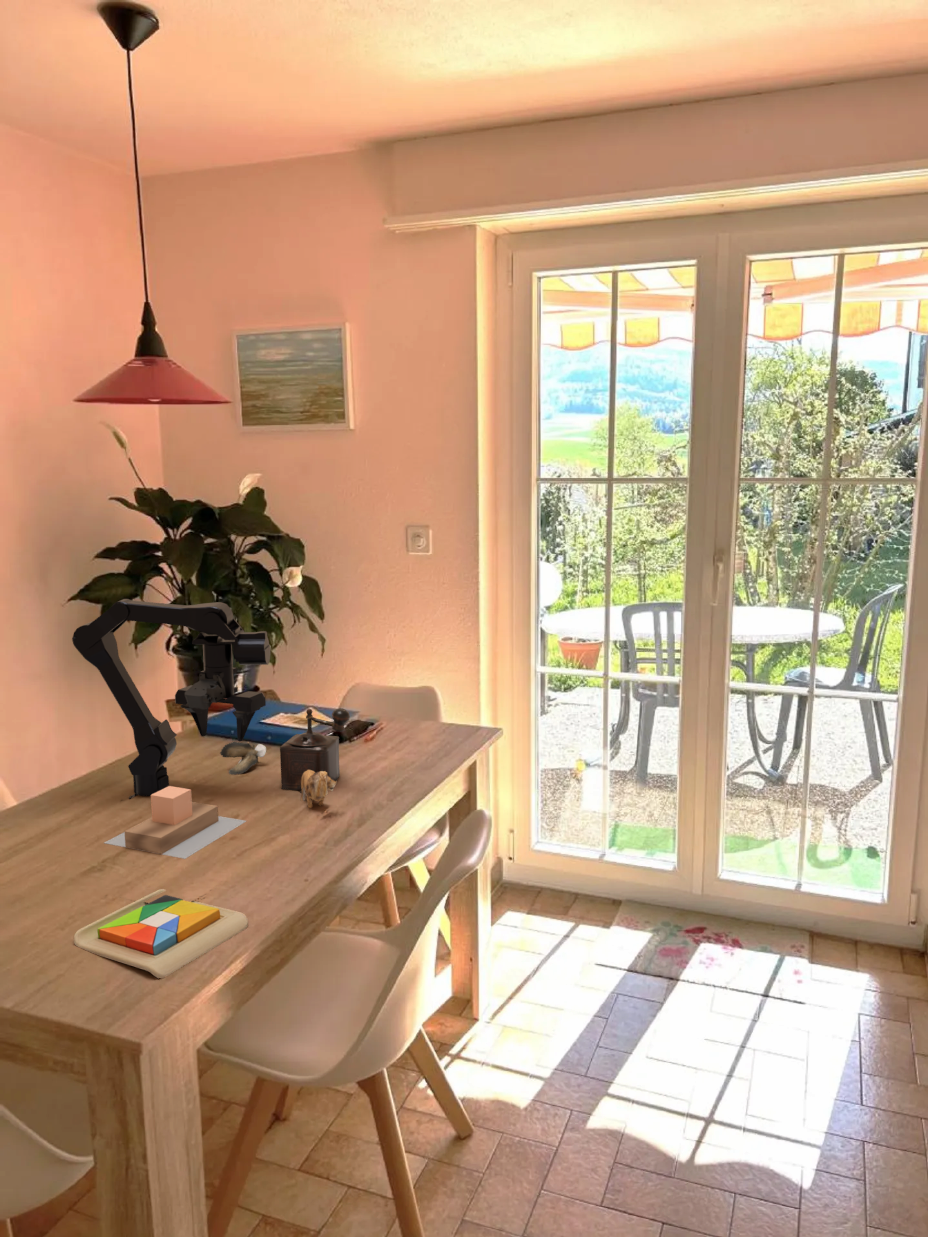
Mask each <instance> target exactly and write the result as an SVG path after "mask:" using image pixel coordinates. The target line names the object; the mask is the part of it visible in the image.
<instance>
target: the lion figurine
mask: <svg viewBox="0 0 928 1237" xmlns="http://www.w3.org/2000/svg"><path fill="white" fill-rule="evenodd" d="M336 784H337V781H334V780H332V779H331V778H330V777H328V774H327V772H325V771H320V772H317V773H315V772H314V771H312V770H307V771H305V772H304V773H303V775H302V779H301V790H302V791H299V794H301V797H300V801H301V802H306V803H307V808H308V809H311V808H313V801H315V802H318V806H323V805H324V802H325V800H324V799H325V797H326V796H327V795H328V794H329V791H331V792H334V788H335V786H336ZM325 811H326V809H324V810H322V812H323V813H324V812H325Z"/></svg>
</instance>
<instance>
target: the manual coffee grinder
mask: <svg viewBox="0 0 928 1237" xmlns="http://www.w3.org/2000/svg"><path fill="white" fill-rule="evenodd" d="M305 714H306V715H305V719H306V720H307V729H306V730H307V731H306V732H303V733H301V734H300V733H296V734H295V735H293V736H292V737H290V738H289V739H288V740H287V741H285V742H284V743H283V744H282V745H281V746H280V747H279V754H280V777H281V778H280V780H281V787H280V788H281V790H286V791H287V790H288V791H289V790H290V791H299V792H301V791H302V790H301V779H302V775H303V773H304V772H305V771H307V770H312V771H314V772H315V773H317V772H320V771H325V772H327V774H328V777H330V778H331V779H332V780H334V781H336V782H337V781H338V780H339V778H340V773H341V772H340V740H339V739H340V737H339V736H335V735H323V734H322V733H320V732H316V731H315V732H314V731H313V729H312V726H313V724H312V721H313V722H315V723H318V724H321V725H325V726H329V727H331V728H332V730H334V731H335V732H336V733H338V732H341V733H342V732H344V731H345V730H346V729H345V728H346V727H345V725H346V724H347V723H348V721H350V716H351V715H350V712H349V711H348V710H346V709H344V708H342V707H340V708H336V709H334V710H333V711H332V713H331V717H332V719H333V722H332V721H328V720H324V719H319V718H317V717H313V710H312V709H311V708H308V709H307V710H306V713H305Z"/></svg>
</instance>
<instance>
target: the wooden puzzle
mask: <svg viewBox="0 0 928 1237" xmlns="http://www.w3.org/2000/svg"><path fill="white" fill-rule="evenodd" d="M165 892H167V889H164V888H162V889H161V888H160V889H158V890H156V891H153V892H151V893H149V894H147V895H145V896H143V897H142V898H139V899H137V900H135V901H133V902H131V903H129V904H127V905H125V906H123V907H121V908H118V909H117V910H115V911H113V912H111V913H109V914H107V915H105V916H102V917H101V918H99V919H98V920H95V921H93V922H92V923H90V924H88V925H87V924H86V925H85V926H83V927H81V928H79V929H77V930H76V932H75V933H74V936H73V943H74V946H76V947H78V948H80V949H82V950H85V951H87V952H89V953H91V954H94V955H97V956H100V957H102V958H106V959H109V960H112V961H115V962H119V963H122V964H125V965H127V966H132V967H135V968H137V969H141V970H143V971H146V972H149V973H150V974H152V975H153V976H154V977H155V978H157V979H159V978H161V979H164V978H166V977H165V976H167V977H168V976H170V975H172V974H174V973H175V972H177V971H178V969H179V970H180V969H182V968H183V965H185V966H187V965H188V964H190V963H192V962H193V961H195V960H197V959H199V958H200V957H202V956H203V955H205V954H207V953H208V952H210V951H211V950H212V951H213V950H214V949H215V948H216V947H218V946H220V945H222V944H223V943H225V942H227V941H228V940H230V939H232V938H233V937H235V936H237V935H239V933H241V932H243V931H244V930H246V929H247V928H248V925H249V919H248V916H246V914H244V913H243V912H241V911H236V910H233V909H228V908H225V907H220V906H217V905H216V906H215V905H212V904H207V903H205V902H199V901H195V900H191V901H190V900H189V901H188V900H184V899H183V898H180V897H176V896H171V895H169V894H164V895H162V896H160V897H158V898H156V899H154V900H153V901H150V902H147V901H148V900H150V899H152V898H154V897H156V896H159V895H160V894H162V893H165ZM214 947H215V948H214ZM204 953H205V954H204ZM201 955H202V956H201ZM199 956H200V957H199ZM196 958H197V959H196ZM191 961H192V962H191ZM189 962H190V963H189ZM186 964H187V965H186ZM181 967H182V968H181ZM176 970H177V971H176ZM174 971H175V972H174ZM173 972H174V973H173ZM171 973H172V974H171Z"/></svg>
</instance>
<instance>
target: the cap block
mask: <svg viewBox="0 0 928 1237" xmlns="http://www.w3.org/2000/svg"><path fill="white" fill-rule="evenodd" d="M192 798H193V797H192V789H190V788H184V787H178V786H173V785H169V786H168V787H166V788H164V789H162V790H160V791H158V792H156V793H154V794H152V795H151V796H150V805H151V806H150V807H151V817H152V821H155V822H160V823H166V824H171V825H175V824H177V823H179V822H181V821H183V820H185V819H186V818H188V817H190V816H192V802H193V800H192Z"/></svg>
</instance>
